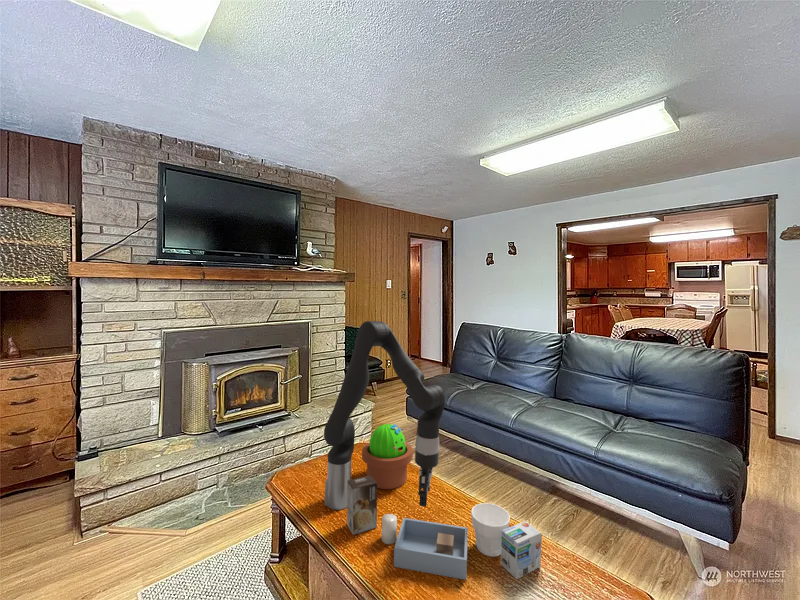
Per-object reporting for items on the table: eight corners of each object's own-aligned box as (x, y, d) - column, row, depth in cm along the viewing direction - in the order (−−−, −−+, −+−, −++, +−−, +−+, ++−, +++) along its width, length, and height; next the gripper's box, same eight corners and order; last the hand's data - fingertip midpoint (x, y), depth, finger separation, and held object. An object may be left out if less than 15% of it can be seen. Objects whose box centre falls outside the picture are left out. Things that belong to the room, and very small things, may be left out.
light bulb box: (516, 580, 102) (517, 543, 102) (499, 564, 108) (500, 529, 108) (541, 567, 107) (542, 532, 107) (524, 553, 113) (525, 520, 113)
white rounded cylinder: (380, 542, 116) (380, 522, 116) (383, 533, 121) (384, 512, 121) (394, 545, 115) (395, 524, 115) (397, 535, 120) (398, 515, 120)
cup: (503, 567, 106) (504, 531, 106) (464, 551, 113) (465, 517, 113) (513, 543, 117) (514, 510, 117) (477, 529, 124) (478, 498, 123)
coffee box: (370, 517, 129) (371, 474, 129) (377, 528, 123) (378, 482, 123) (346, 524, 125) (347, 479, 124) (352, 535, 119) (353, 488, 119)
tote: (393, 566, 106) (394, 547, 106) (403, 534, 120) (403, 517, 120) (466, 579, 102) (466, 560, 101) (467, 545, 116) (467, 527, 116)
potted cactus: (351, 479, 155) (352, 423, 155) (385, 462, 172) (386, 411, 171) (387, 499, 141) (389, 437, 140) (421, 478, 157) (422, 423, 157)
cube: (436, 559, 108) (436, 543, 108) (437, 547, 113) (438, 532, 113) (452, 562, 107) (452, 546, 107) (453, 550, 112) (453, 535, 112)
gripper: (418, 437, 120) (416, 484, 121) (412, 456, 106) (409, 509, 107) (440, 440, 119) (438, 487, 119) (436, 460, 105) (433, 513, 105)
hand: (424, 497), depth 113 cm, fingers open, 8 cm apart
